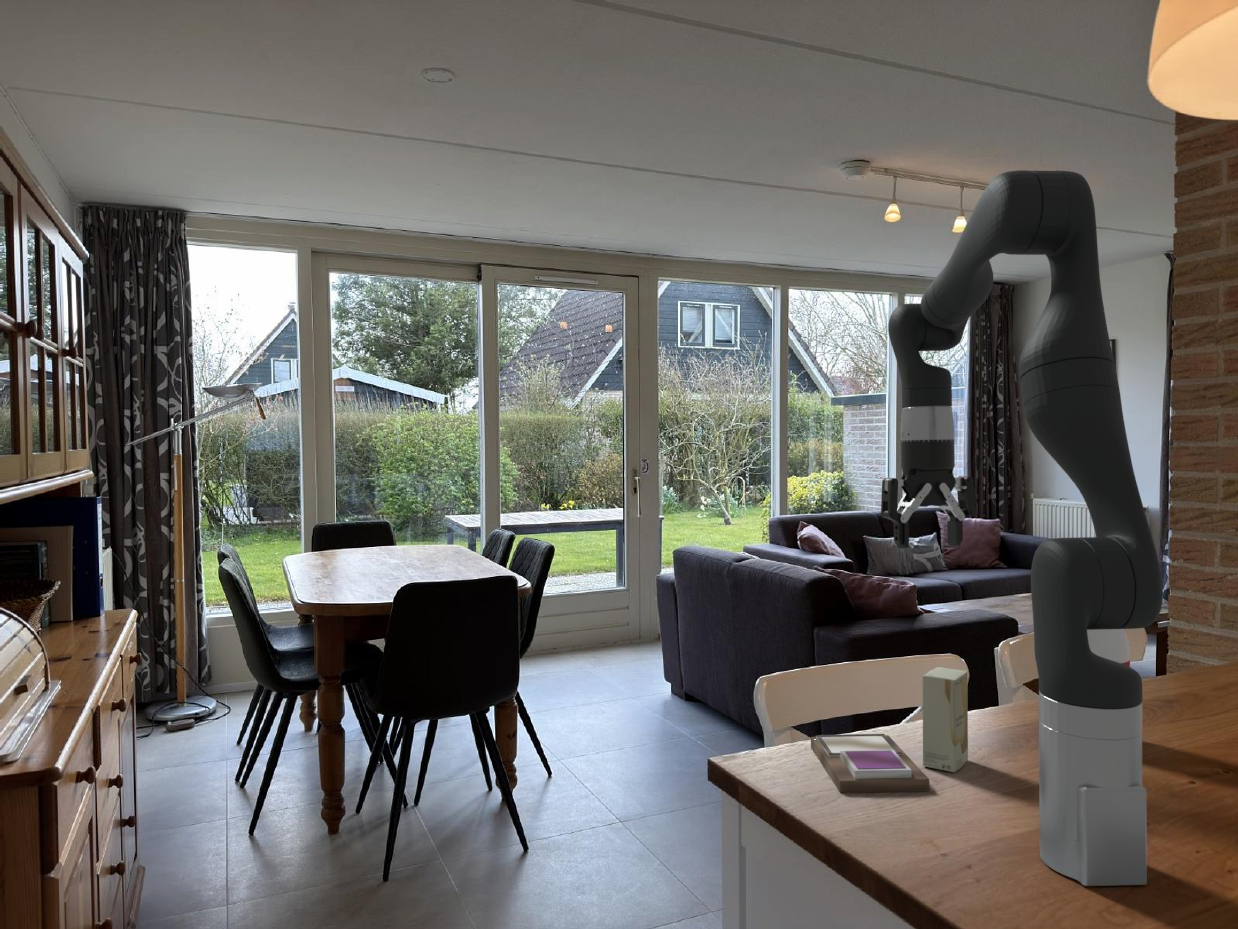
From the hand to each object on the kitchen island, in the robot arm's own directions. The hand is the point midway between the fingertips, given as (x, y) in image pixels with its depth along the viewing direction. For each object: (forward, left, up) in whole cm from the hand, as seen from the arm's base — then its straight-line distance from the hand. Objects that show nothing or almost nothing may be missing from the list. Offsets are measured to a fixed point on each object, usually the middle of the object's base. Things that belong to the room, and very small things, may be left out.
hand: (928, 547), depth 130 cm
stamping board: (-15, +14, -27) cm, 34 cm away
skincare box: (-14, +3, -28) cm, 31 cm away
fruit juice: (-6, -21, -28) cm, 35 cm away
